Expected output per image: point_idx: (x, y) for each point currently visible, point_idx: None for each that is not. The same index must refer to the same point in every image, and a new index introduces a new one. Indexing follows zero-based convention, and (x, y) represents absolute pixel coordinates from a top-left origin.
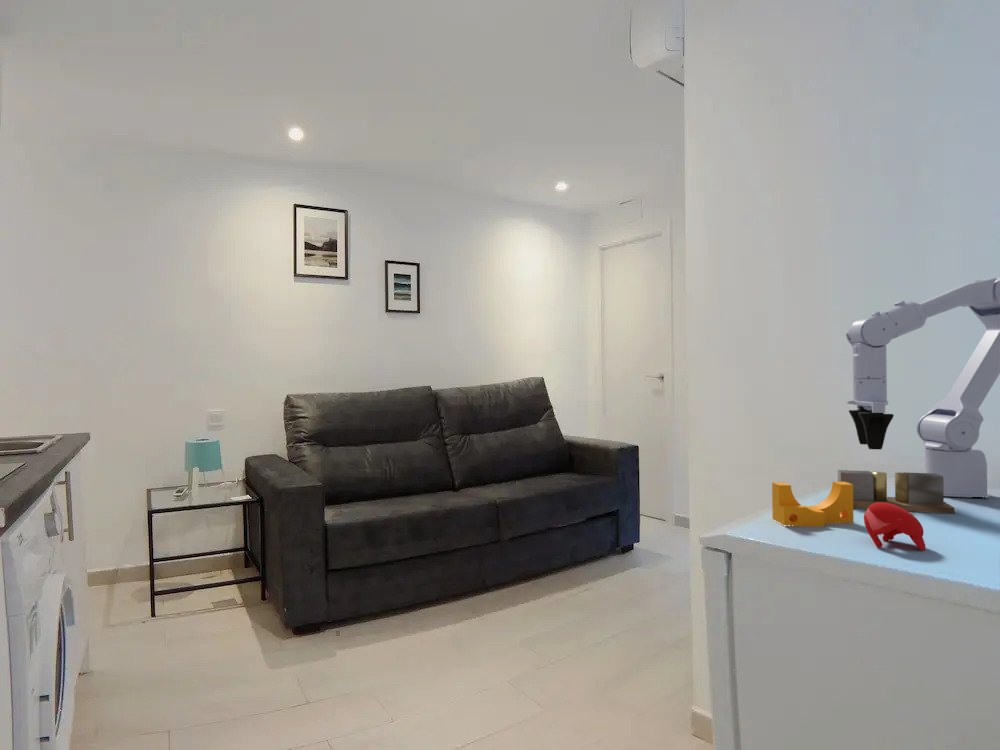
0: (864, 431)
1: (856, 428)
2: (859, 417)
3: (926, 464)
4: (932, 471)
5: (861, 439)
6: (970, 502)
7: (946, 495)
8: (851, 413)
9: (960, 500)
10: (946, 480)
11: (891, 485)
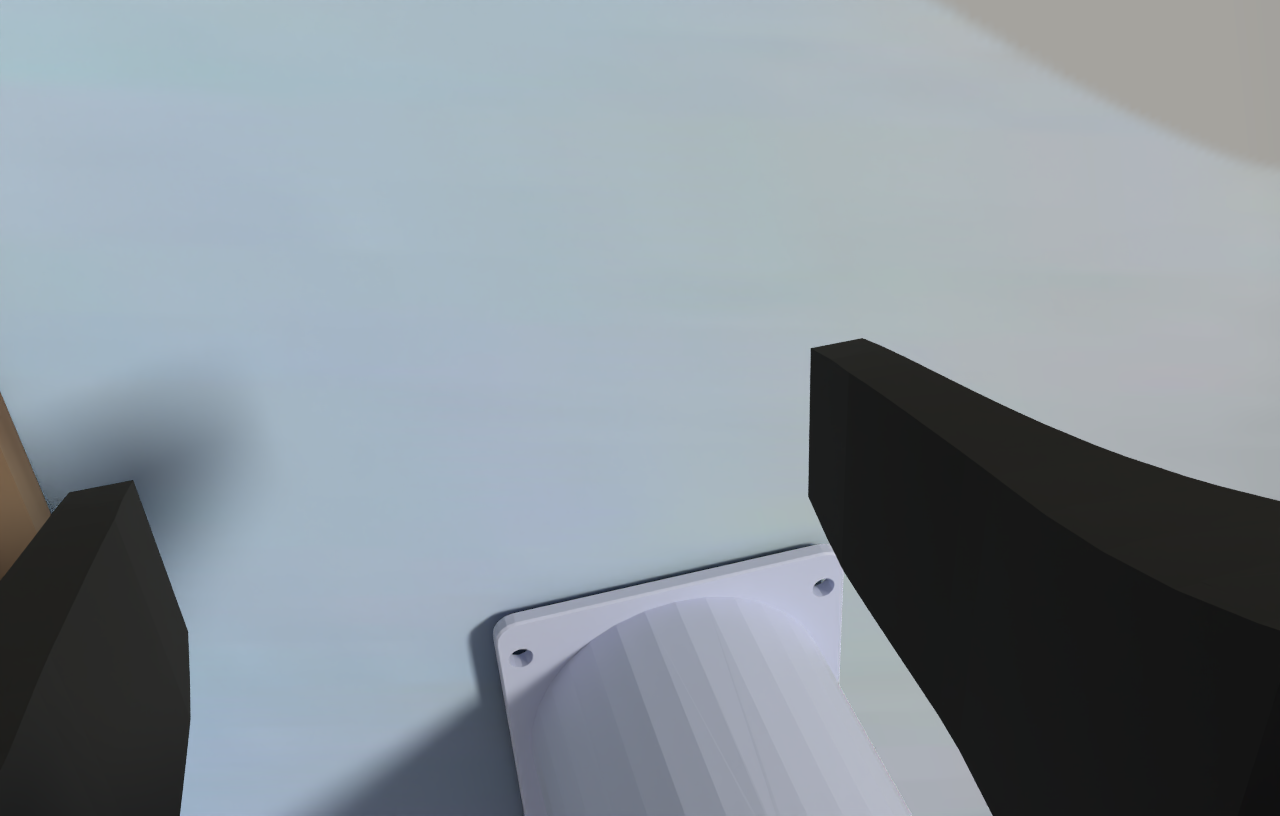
0: (931, 546)
1: (1024, 451)
2: (1131, 698)
3: (733, 785)
4: (635, 781)
5: (851, 407)
6: (363, 812)
7: (506, 709)
8: (1255, 623)
9: (418, 765)
10: (560, 805)
11: (956, 360)
